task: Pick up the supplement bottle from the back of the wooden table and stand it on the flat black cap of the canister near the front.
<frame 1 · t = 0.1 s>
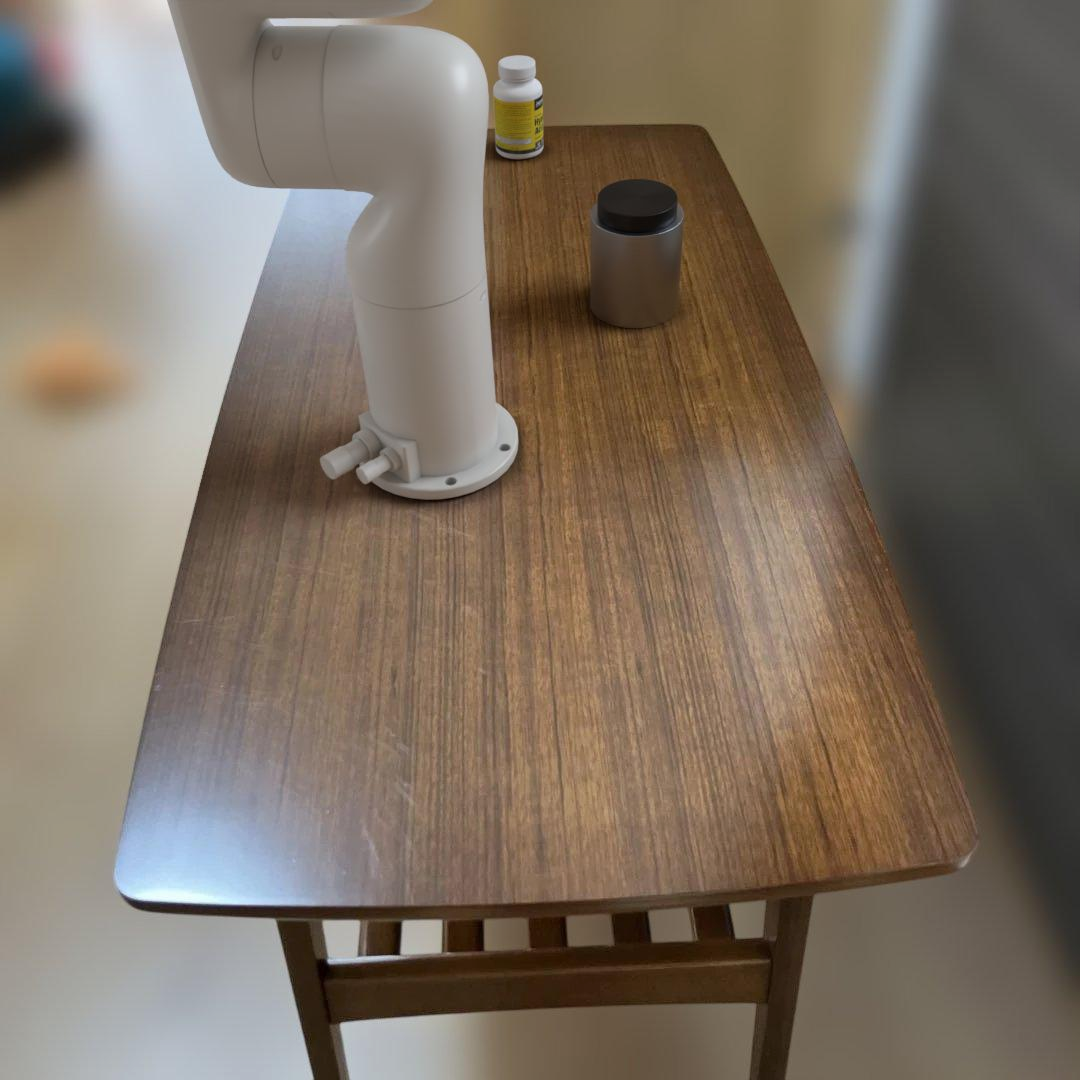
canister: (634, 304, 102), on the table
supplement bottle: (520, 152, 126), on the table
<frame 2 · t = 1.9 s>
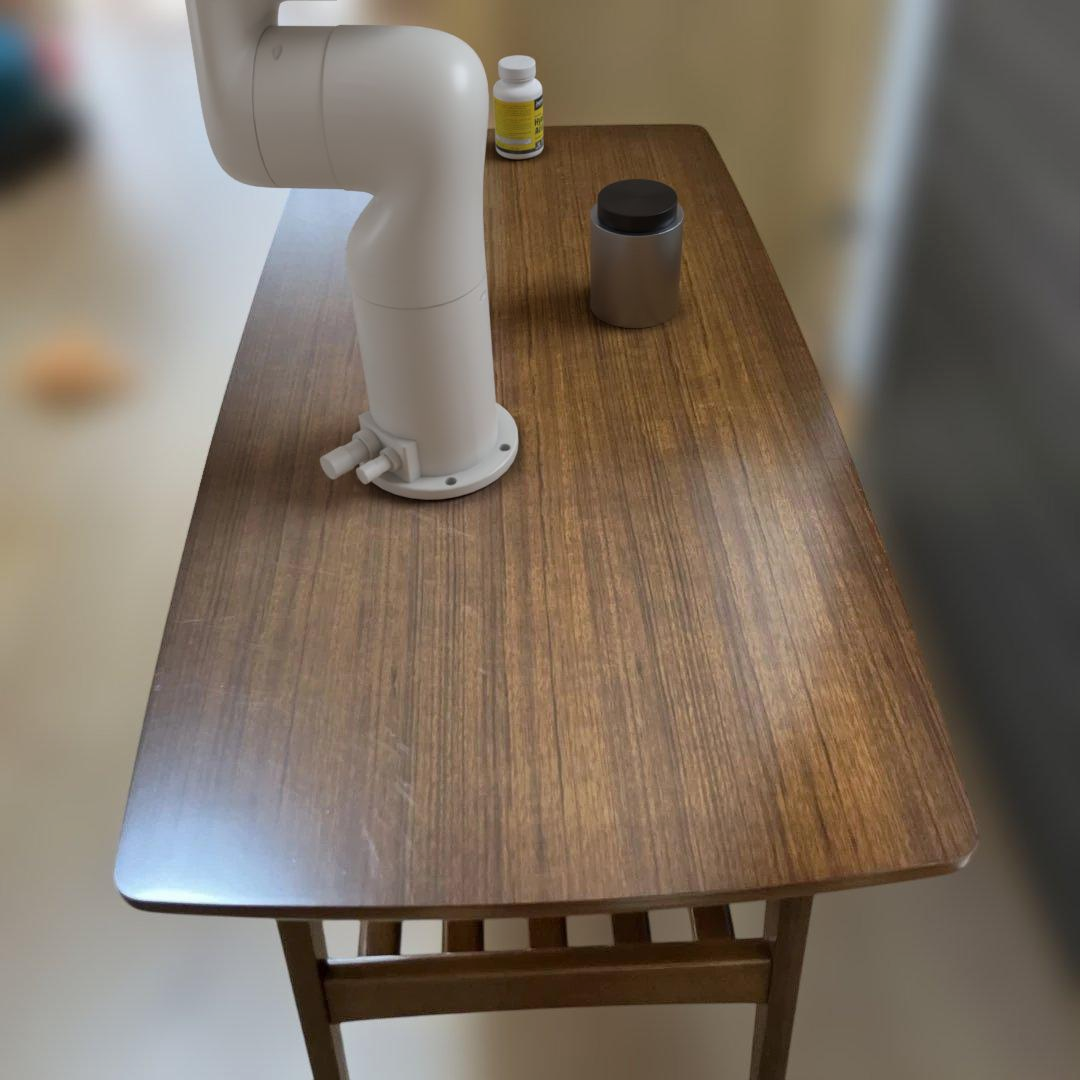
nothing on the table moved.
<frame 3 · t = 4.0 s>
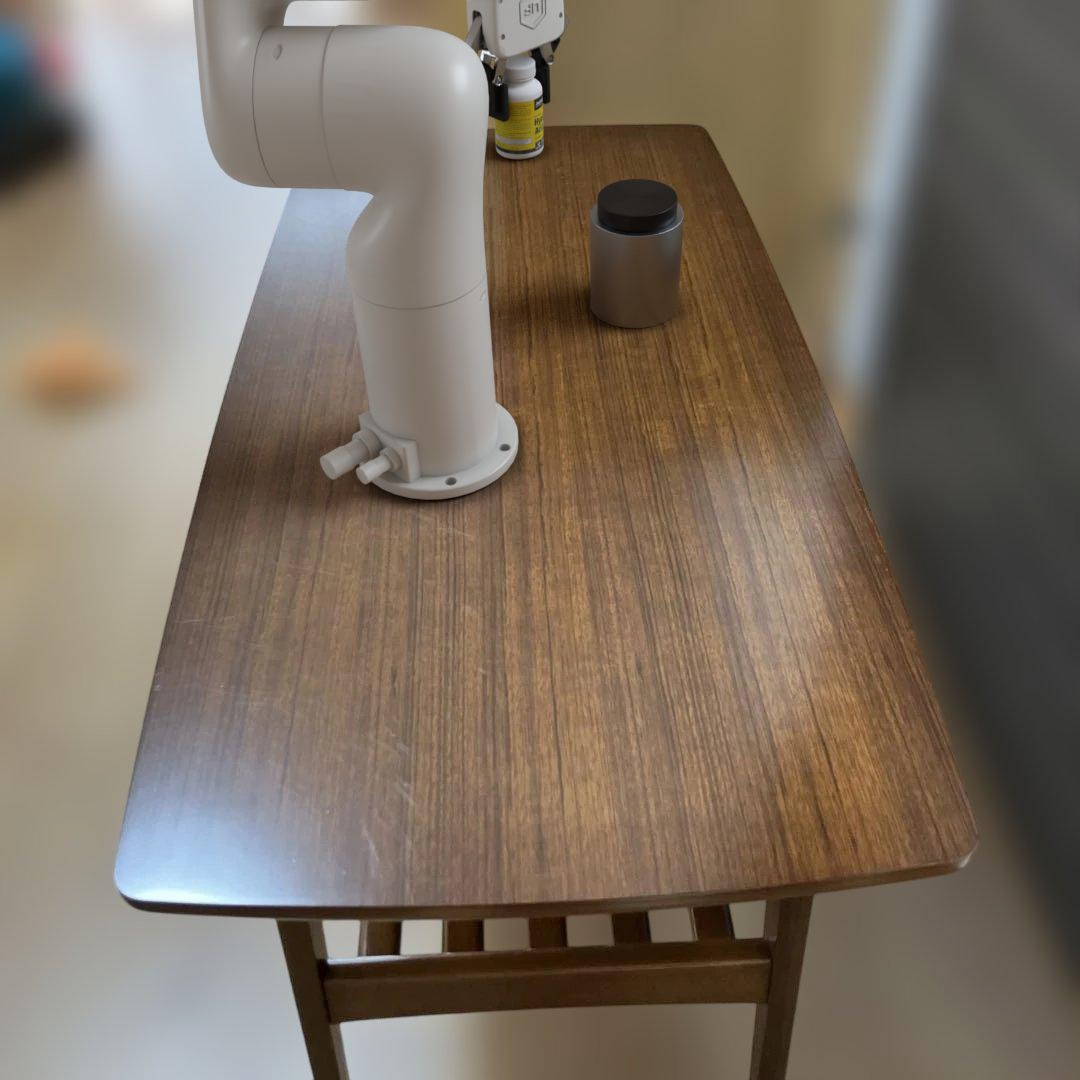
hand: (518, 107, 123), 5 cm above the table, tool pointing down, fingers closed on supplement bottle, 5 cm apart
supplement bottle: (520, 152, 126), on the table, touching gripper
everything else where it was.
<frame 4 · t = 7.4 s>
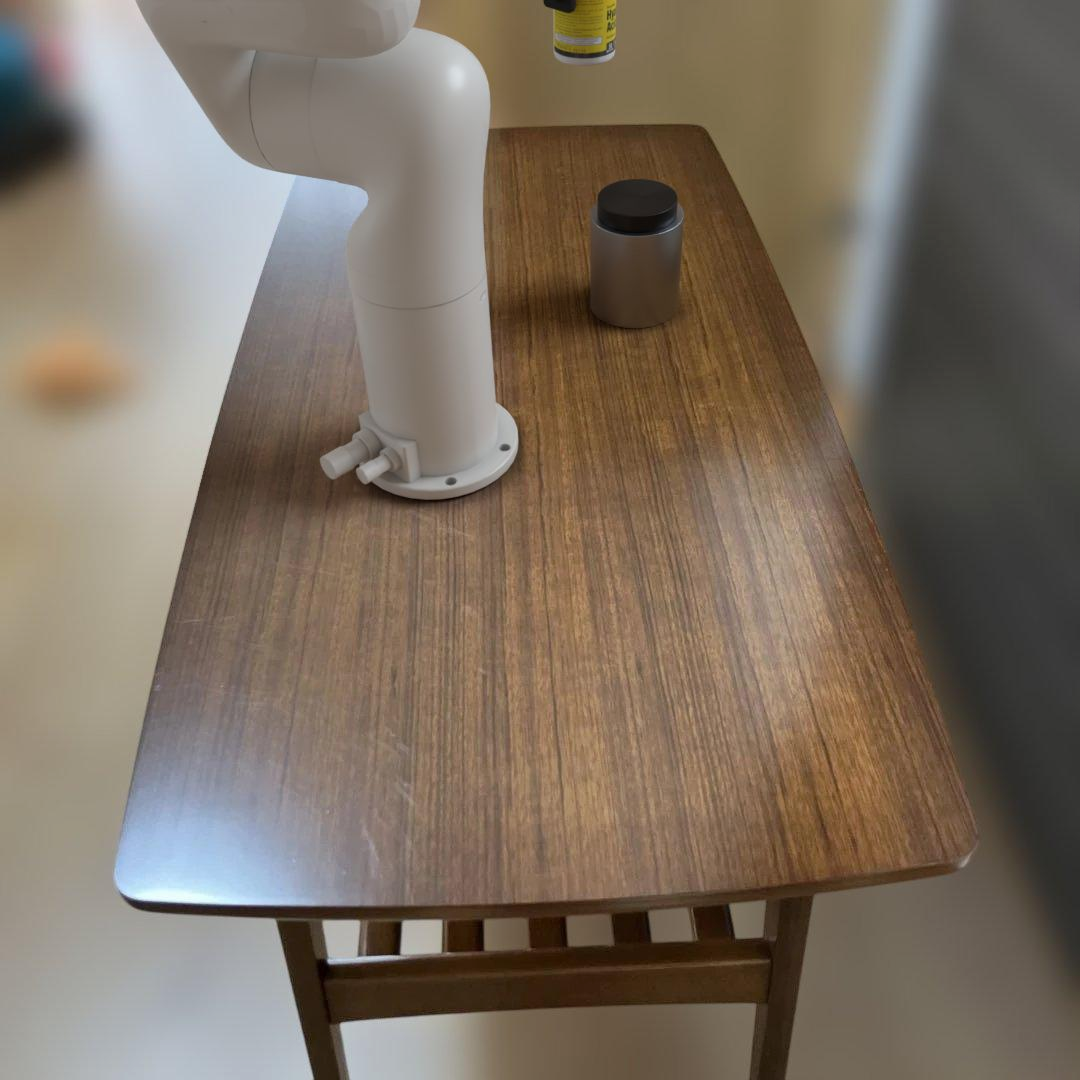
supplement bottle: (584, 58, 98), point 18 cm above the table, touching gripper
everything else where it was.
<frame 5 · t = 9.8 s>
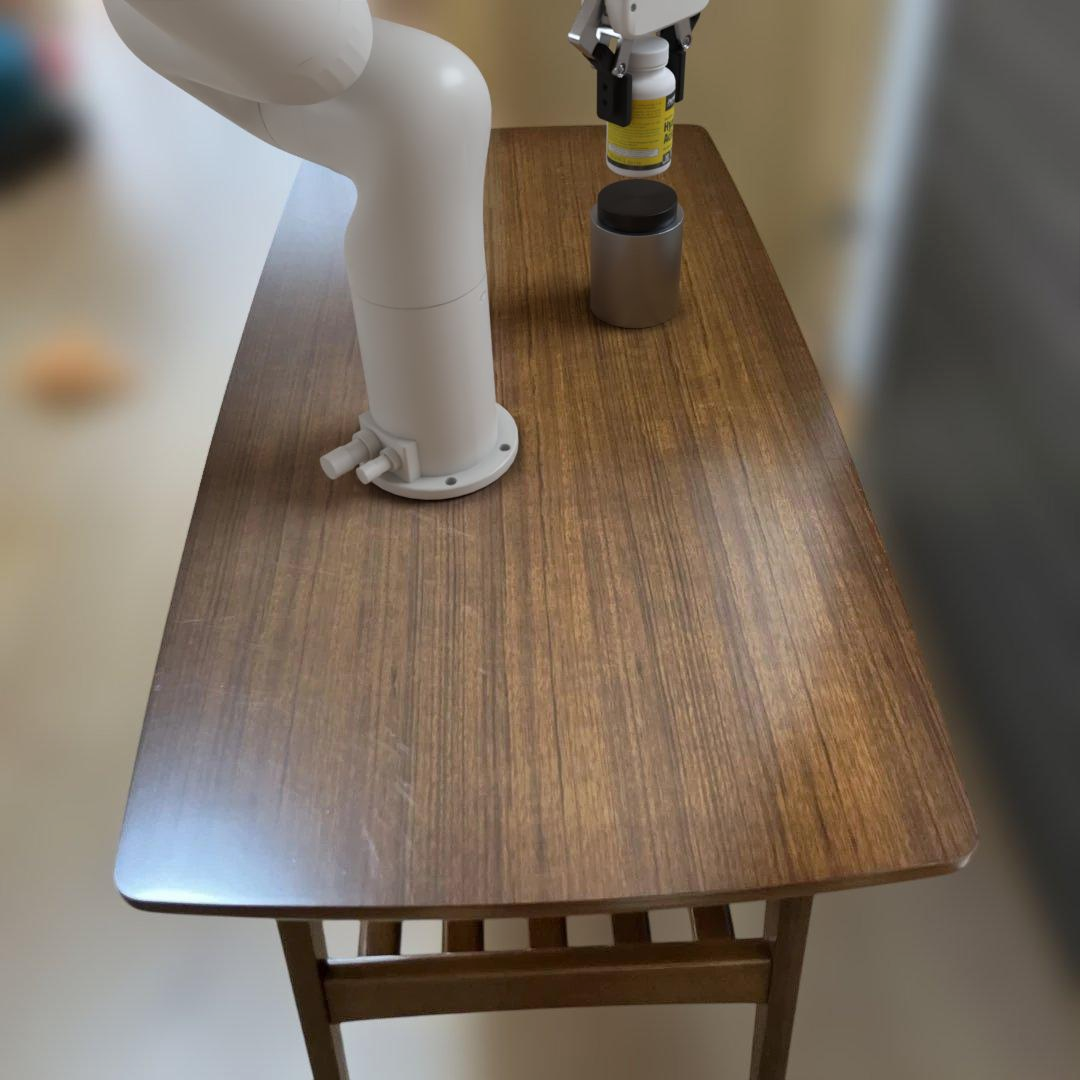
hand: (640, 107, 90), 18 cm above the table, tool pointing down, fingers closed on supplement bottle, 5 cm apart
supplement bottle: (638, 167, 93), point 13 cm above the table, touching gripper
everything else where it was.
when the fingers open (15 cm above the table, at t = 11.1 s): supplement bottle stays where it is, resting on canister.
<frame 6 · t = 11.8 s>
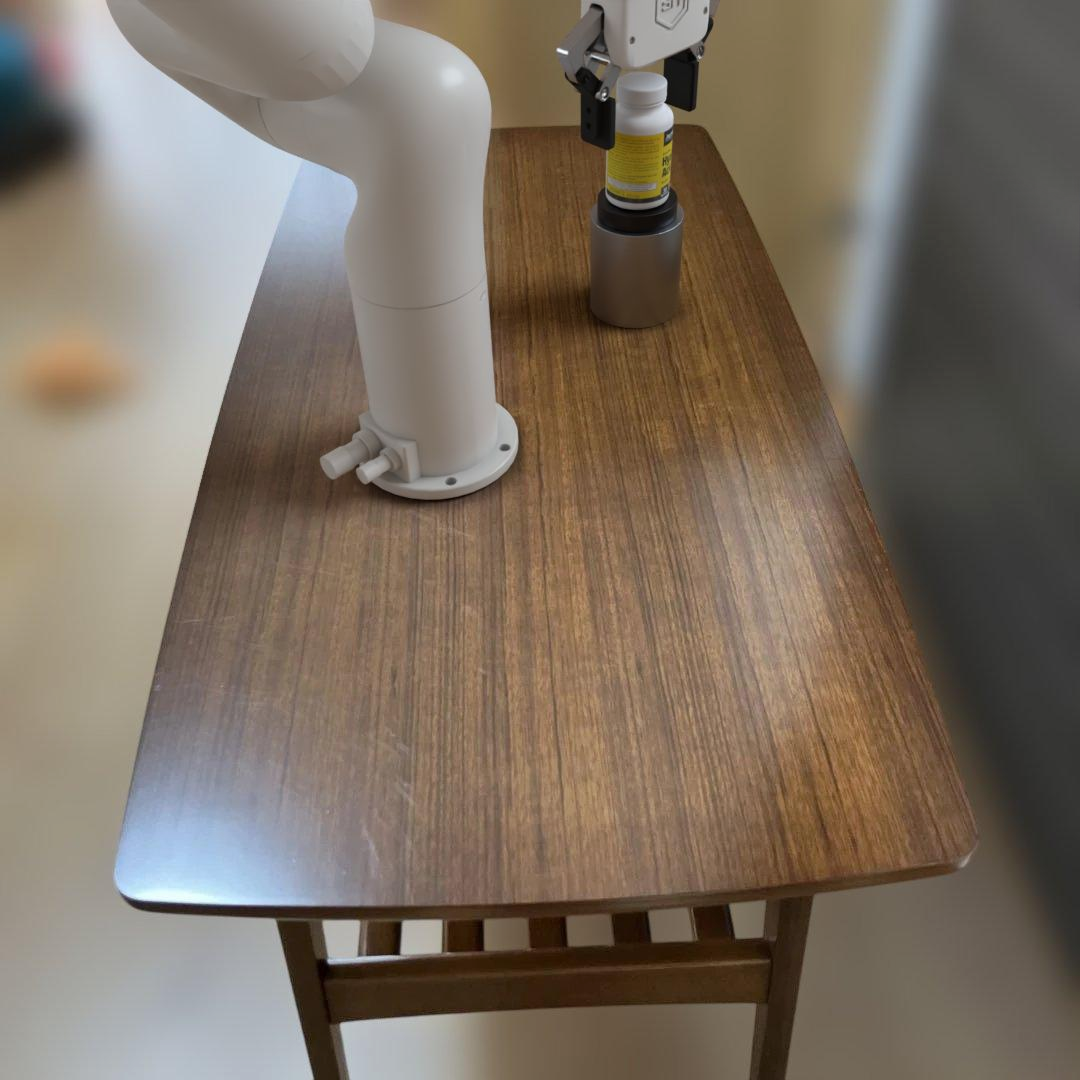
hand: (639, 125, 90), 17 cm above the table, tool pointing down, fingers open, 9 cm apart
canister: (634, 304, 102), on the table, touching supplement bottle
supplement bottle: (637, 199, 95), point 10 cm above the table, touching canister
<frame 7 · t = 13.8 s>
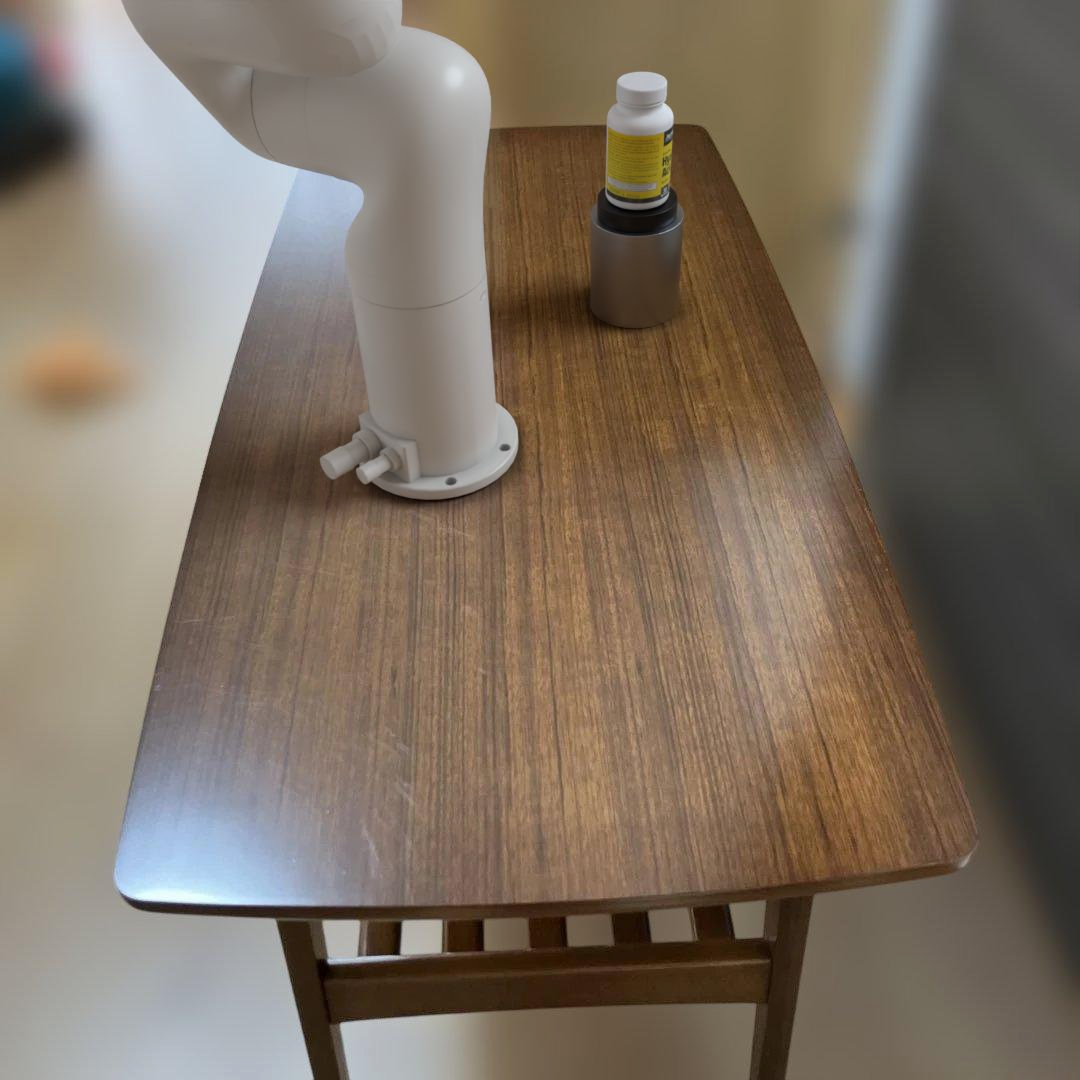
nothing on the table moved.
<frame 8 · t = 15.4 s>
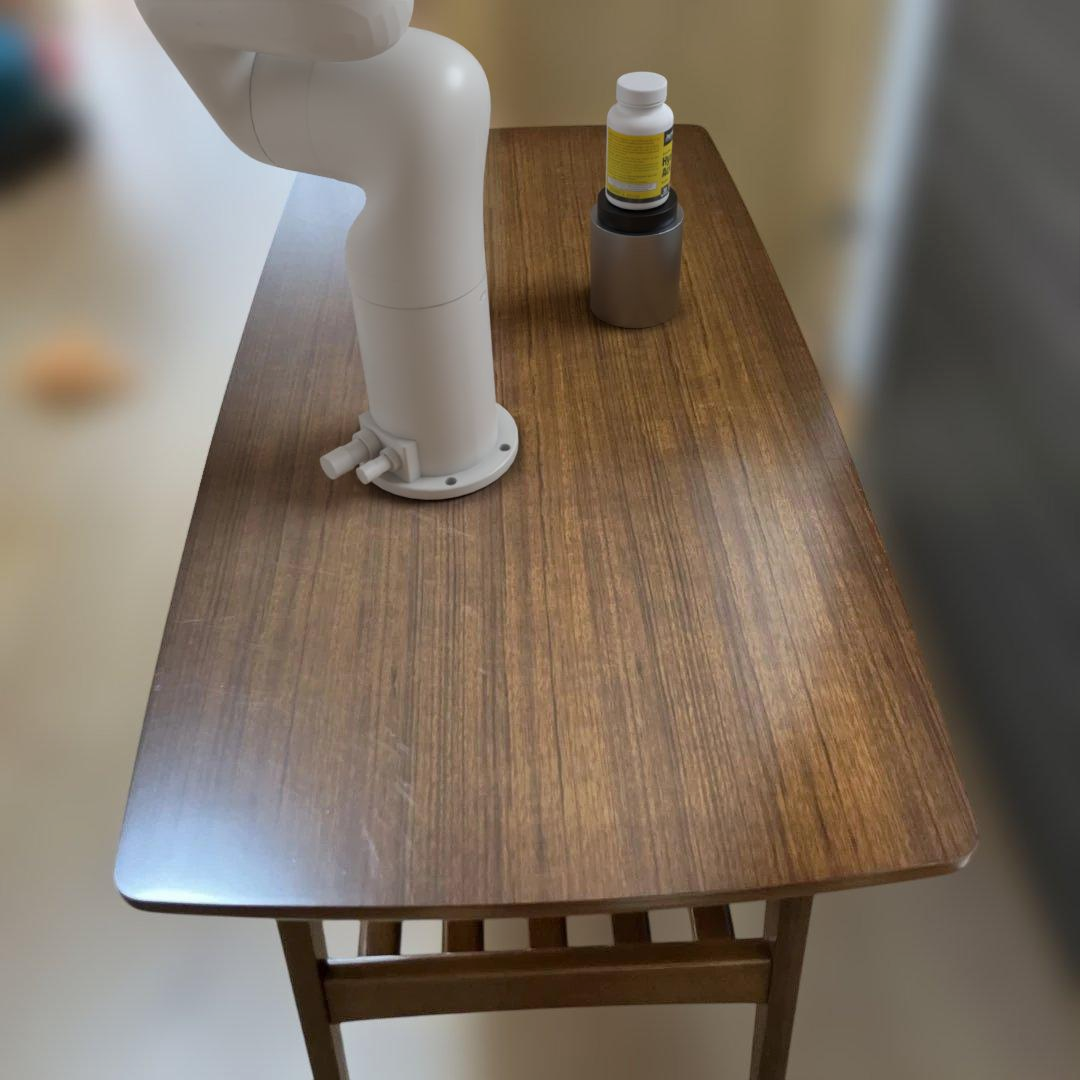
nothing on the table moved.
at the end: supplement bottle 0.0 cm off-centre on the canister, point 10.3 cm above the canister's base; supplement bottle tilted 0°; the gripper is holding nothing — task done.
